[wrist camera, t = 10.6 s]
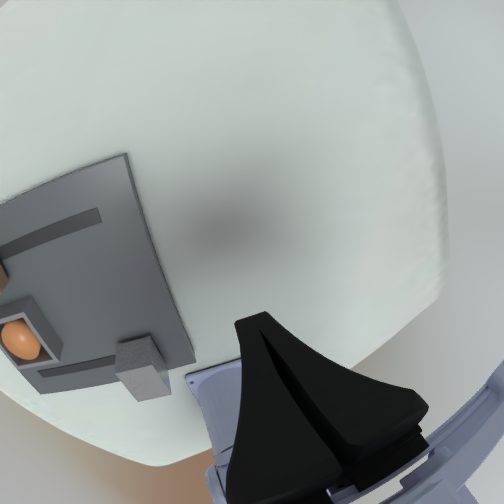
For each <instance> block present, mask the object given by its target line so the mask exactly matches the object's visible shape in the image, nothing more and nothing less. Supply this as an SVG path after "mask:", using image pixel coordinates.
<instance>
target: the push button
mask: <svg viewBox="0 0 504 504" xmlns="http://www.w3.org/2000/svg"><path fill="white" fill-rule="evenodd" d="M1 337H2V341H3V343H4V345H5V346H6V347H7V349H8V350H9V351H10V352H11V353H13V354H14V355H16V356H17V357H19V358H22V359H26V360H32V359H35V358H36V357H37V356H38V355H39V351H40V348H41V343H40V341H39V340H38V339H37V337H36V336H35V334H34V333H33V332H32V330H31V329H30V327H29V326H28V324H27V323H26V321H25V320H24V318H23V317H22V318H19V319H16V320H12V321H9V322H6V323H5V326H4V328H3V330H2V333H1Z"/></svg>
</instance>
